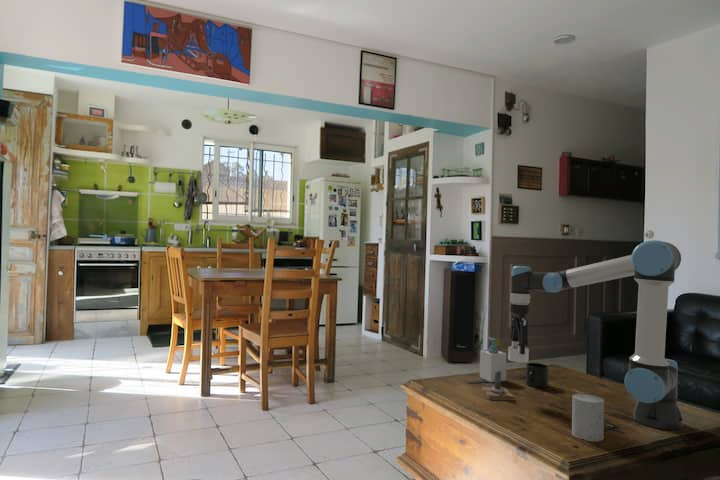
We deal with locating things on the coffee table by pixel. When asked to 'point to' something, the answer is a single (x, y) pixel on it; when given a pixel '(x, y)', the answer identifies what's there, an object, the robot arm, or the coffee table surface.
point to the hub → (516, 353)
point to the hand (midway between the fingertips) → (518, 359)
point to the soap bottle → (492, 362)
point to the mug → (537, 375)
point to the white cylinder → (588, 417)
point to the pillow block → (497, 390)
